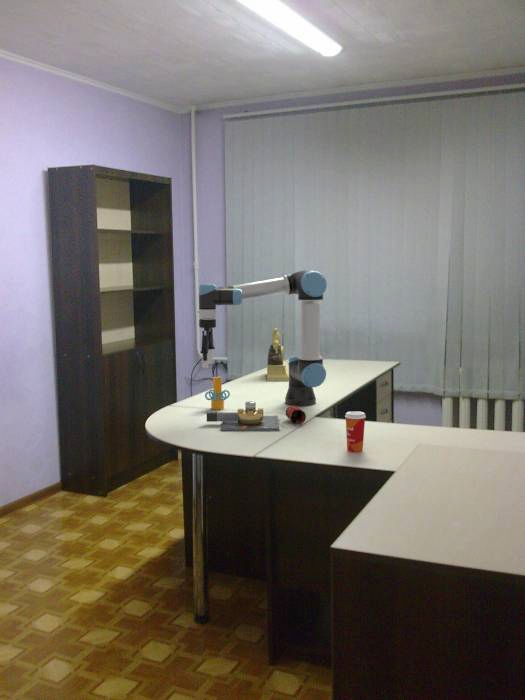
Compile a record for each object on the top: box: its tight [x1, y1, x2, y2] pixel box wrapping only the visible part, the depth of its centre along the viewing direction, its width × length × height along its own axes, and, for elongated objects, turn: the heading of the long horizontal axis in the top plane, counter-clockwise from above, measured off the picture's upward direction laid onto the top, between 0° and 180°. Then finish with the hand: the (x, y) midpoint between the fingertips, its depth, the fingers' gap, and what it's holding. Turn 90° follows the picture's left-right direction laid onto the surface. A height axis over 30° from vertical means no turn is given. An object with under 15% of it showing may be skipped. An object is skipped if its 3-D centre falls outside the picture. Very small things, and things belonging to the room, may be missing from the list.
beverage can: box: [285, 405, 307, 425], centre depth 310 cm, size 7×12×7 cm, turn 11°
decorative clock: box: [266, 327, 289, 382], centre depth 426 cm, size 28×13×30 cm, turn 179°
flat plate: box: [220, 400, 280, 432], centre depth 305 cm, size 24×25×10 cm
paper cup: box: [344, 410, 367, 453], centre depth 262 cm, size 8×8×14 cm
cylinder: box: [204, 376, 231, 411], centre depth 338 cm, size 12×10×15 cm
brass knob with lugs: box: [206, 408, 264, 424], centre depth 305 cm, size 24×11×5 cm, turn 90°
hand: (207, 365), depth 322 cm, fingers open, 13 cm apart
